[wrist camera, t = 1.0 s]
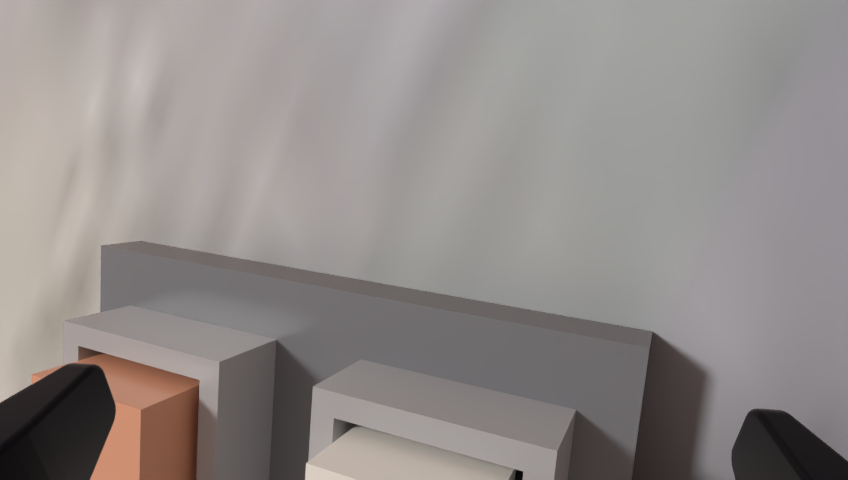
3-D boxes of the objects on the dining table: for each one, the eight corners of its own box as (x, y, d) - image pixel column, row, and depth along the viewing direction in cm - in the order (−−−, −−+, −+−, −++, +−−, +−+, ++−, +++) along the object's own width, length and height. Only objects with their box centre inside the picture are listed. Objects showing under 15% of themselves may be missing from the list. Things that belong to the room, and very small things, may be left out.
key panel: (605, 670, 20) (583, 811, 16) (135, 486, 29) (32, 544, 24) (652, 331, 19) (643, 380, 14) (139, 241, 27) (31, 253, 23)
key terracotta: (206, 511, 22) (137, 559, 19) (108, 473, 24) (32, 511, 21) (211, 379, 21) (140, 409, 18) (109, 351, 23) (31, 374, 20)
